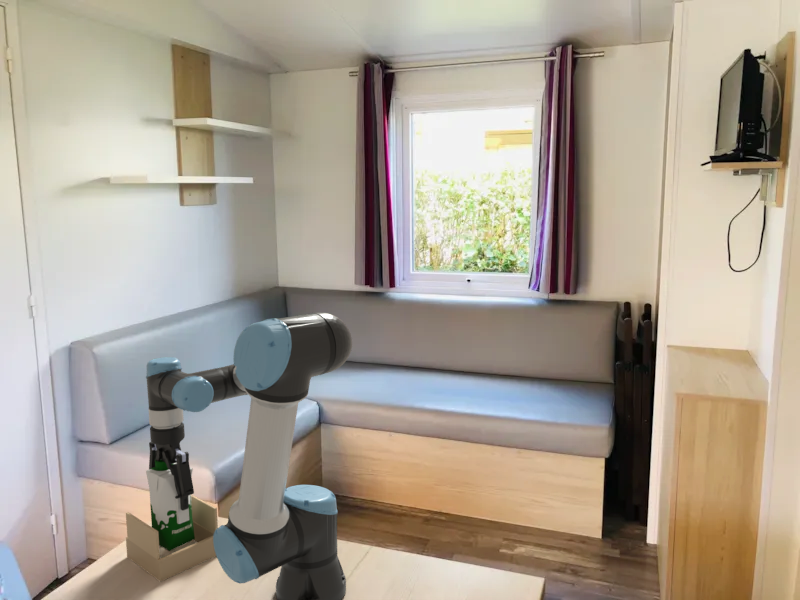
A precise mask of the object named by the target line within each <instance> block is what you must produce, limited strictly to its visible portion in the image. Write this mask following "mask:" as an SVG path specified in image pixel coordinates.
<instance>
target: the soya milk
mask: <svg viewBox="0 0 800 600" xmlns="http://www.w3.org/2000/svg"><path fill="white" fill-rule="evenodd" d="M173 464H177V463H173ZM173 464H172V465H173ZM190 472H191V478H192V476H193V472H194V469H193V467H190ZM145 473H146V478H147V483H148V484H147V485H148V490H149V491H148V492H149V504H150V519H151V520H150V521H151V527H152V528H154V529H155V530H157V531H158V535H159V547H161V548H163V549H165V550H167V551H168V552H170V551H173V550H175V549H177V548H179V547H181V546H183V545H186V544H188V543H190V542H192V541H194V539H195V535H194V527H193V518H192V502H191V495H189V496H188V503H189V520H188V521H186V522H183V523H181V524H178V523H177V512H176V498H175V496H178V494H177V491H176V488H175V482H174V476H173V475H172V474H171V471H170V470H169V469H168V468H167V465H166V463H165V462H163V461H162V460H160V461H156V460H155V467H154V468H151V469H149V468H148V469H146V470H145Z"/></svg>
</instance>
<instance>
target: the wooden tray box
mask: <svg viewBox="0 0 800 600" xmlns="http://www.w3.org/2000/svg"><path fill="white" fill-rule="evenodd" d="M191 502H192V518H193V527H194V535H195V539H194V540H195V541H194V540H193V541H194V542H195V543H193V544H191V545H188V546H186V547H183V548H181V549H179V550H176V551H175V552H172V553H169V554H168V555H165V556H163V557H160V556H161V555H160V553H161V552H160V546H159V535H158V531H157V530H155V529H154V528H152V525H149V524H147V523H146V522H144V521H143V520H141V519H140V518H138V517H137V516H135V515H133V514H132V513H131V512H129V511H127V512H125V520H126V524H125V525H126V535H127V536H126V537H125V542H126V543H125V545H126V547H125V548H126V558H127V559H129V560H130V561H132V562H133V563H134V564H135V565H137V566H139V567H140V568H141V569H142V570H144V571H145V572H147V573H148V574H149V575H151V576H152V577H153V578H154V579H156V580H157V581H159V582H163V581H165V580H167V579H170V578H172V577H174V576H176V575H179V574H180V573H183V572H185V571H187V570H189V569H192V568H193V567H196V566H198V565H200V564H202V563H204V562H206V561H209V560H211V559H213V558H215V557H217V556H216V553H215V549H214V544H213V535H214V532H215V530H216V529H217V528H219V527H218V526H219V525H218V522H219V521H218V508H217V507H216V506H214V505H212V504H210V503H208V502H207V501H205V500H202V499H201V498H199V497H197V496H195V495H194V494H191Z"/></svg>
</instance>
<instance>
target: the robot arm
mask: <svg viewBox="0 0 800 600" xmlns="http://www.w3.org/2000/svg"><path fill="white" fill-rule="evenodd" d="M352 347H353V338H352V334H351V331H350V329H349V328H348V326H347V325H346V323H345V322H344V320H342V319H340V318H339V317H338V316H336V315H334V314H331V313H328V312H312V313H311V312H310V313H307V314H300V315H293V316H287V317H281V318H280V317H279V318H275V317H274V318H266V319H264V320H262V321H257V322H254V323H252V324H251V323H250V325H248V326H247V327H245V328H243V330H242V331H241V332H240V334H239V336H238V337H237V340H236V342H235V344H234V349H233V364H230V365H226V366H220V367H217V368H215V367H214V368H210V369H206V370H201V371H195V372H191V373H187V372H183V371H182V369H183V368H182V364H181V361H180V359H179V358H177V357H174V356H172V357H170V356H165V357H158V358H154V359H151V360H149V361H148V362H147V363H146V376H145V379H146V387H147V388H146V390H147V399H148V401H147V402H148V403H147V404H148V420H149V421H148V422H149V425H150V427H149V434H150V437H149V438H150V442H149V444H148V446H149V460H148V461H149V462H148V464H149V465H148V470H149V469H151V468H154V467H155V460H156V461H160V460H162V461H163V462H165V463H166V465H167V468H168V469H169V470H170V471H171V474H172V475H173V476H174V482H175V488H176V491H177V494H178V496H175V498H176V512H177V523H178V524H181V523H183V522H186V521H188V520H189V503H188V496H189V495H191V494H192V495H194V494H195V490H194V484H193V483H194V482H193V478H192V477H191V472H190V468H191V466H190V459H189V458H190V453H189V451H182V448H181V444H180V443H181V442H182V441H183V440H184V439H185V423H184V422H183V421H184V411H186V412H192V413H200V412H203V411H204V410H205V409H207V408H208V407H209V406H210V405H211V404H213V403H216V402H220V401H223V400H228V399H229V400H230V399H232V398H237V397H240V396H249V397H250V405H249V412H248V413H249V414H248V422H247V429H246V430H247V431H246V437H245V438H246V439H245V446H244V454H243V462H242V468H241V469H242V470H241V479H240V486H239V496H238V499H236V500H235V501H234V502H233V503H232V505H230V508H229V513H228V518H227V523H226V524H222V525H220V526H219V527H218V528H217V529H216V530H215V532H214V535H213V544H214V549H215V553H216V556H215V557H216V558H217V560H218V562H219V565H220V568H222V570H223V572H224V573H225V574H226V575H227V577H228V578H229V579H230V580H232V581H233V582H235V583H237V584H246V583H248V582H252V581H253V580H258V579H259V578H260V577H263V576H264V575H266V574H268V573H271V572H272V571H275V570H276V569H279V568H280V571H279V575H278V577H277V579H276V583H275V597H276V600H343V598H344V597H345V594H346V592H347V579H346V575H345V573H344V569H343V568H342V564H341V561H340V558H339V556H338V512H339V511H338V509H337V507H338V506H337V498H336V495H335V494H334V493H333V491H332V490H329V489H328V488H326V487H323V486H319V485H313V484H297V485H291V486H288V487H287V480H288V474H289V469H290V468H289V467H290V461H291V454H292V447H293V442H294V440H293V439H294V434H295V427H296V420H297V413H298V409H299V408H298V405H299V403H300V402H302V401H303V400H305V399H306V398H307V397H308V394H309V390H310V382H311V380H312V379H311V378H314V377H317V376H321V375H324V374H327V373H331V372H333V371H335V370H338V369H339V368H340V367H342V366H343V365H344V364H345V363H346V361H347V360H348V359H349V357H350V355H351V352H352ZM173 463H177V464H173ZM172 464H173V465H172Z"/></svg>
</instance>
